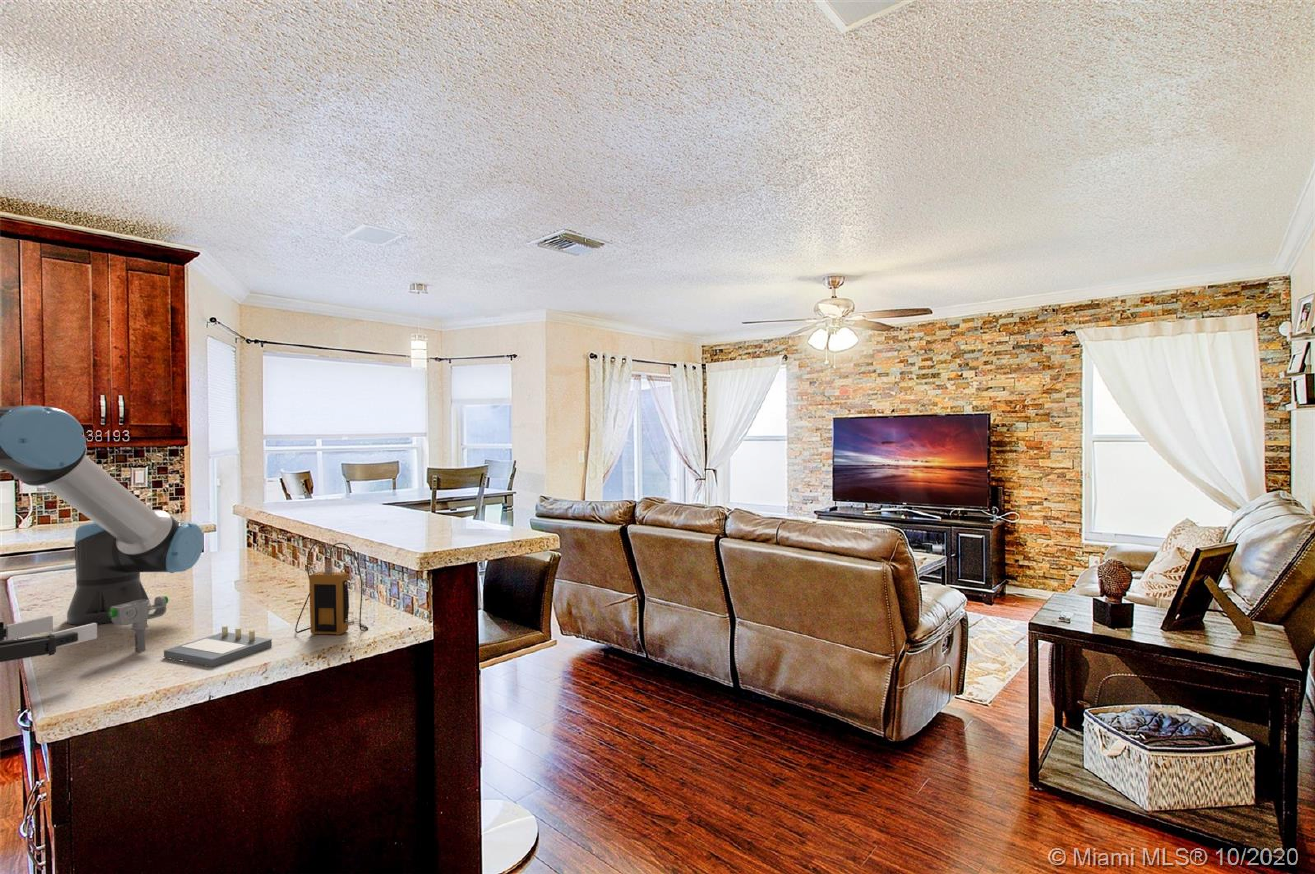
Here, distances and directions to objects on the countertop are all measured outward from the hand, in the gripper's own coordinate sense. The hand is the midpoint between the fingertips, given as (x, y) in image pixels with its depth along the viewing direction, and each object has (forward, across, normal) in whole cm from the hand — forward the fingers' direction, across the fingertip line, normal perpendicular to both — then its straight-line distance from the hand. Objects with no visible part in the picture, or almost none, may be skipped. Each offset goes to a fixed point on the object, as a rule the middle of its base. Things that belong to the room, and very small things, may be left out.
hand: (73, 626), depth 120 cm
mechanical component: (+11, 0, -8) cm, 14 cm away
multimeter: (+36, +26, -8) cm, 45 cm away
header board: (+16, +16, -8) cm, 24 cm away
